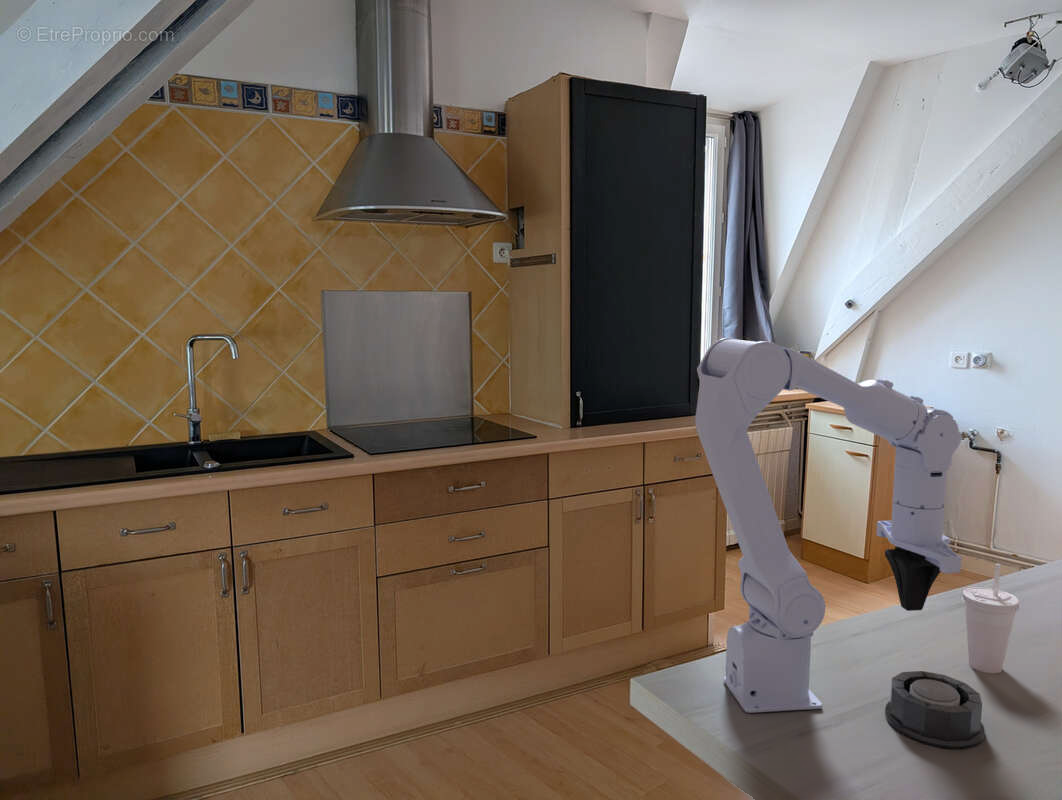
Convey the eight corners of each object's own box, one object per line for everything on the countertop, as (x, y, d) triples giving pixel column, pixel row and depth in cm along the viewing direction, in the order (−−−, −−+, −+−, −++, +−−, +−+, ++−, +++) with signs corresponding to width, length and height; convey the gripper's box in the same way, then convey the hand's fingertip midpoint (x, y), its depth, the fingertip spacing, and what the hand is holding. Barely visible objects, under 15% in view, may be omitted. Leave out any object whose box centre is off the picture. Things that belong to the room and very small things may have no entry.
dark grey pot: (917, 752, 81) (920, 717, 80) (868, 702, 91) (869, 671, 90) (1005, 746, 82) (1008, 711, 81) (946, 698, 92) (949, 667, 91)
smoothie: (1022, 680, 96) (1031, 574, 94) (967, 675, 97) (975, 571, 95) (1002, 657, 102) (1010, 557, 100) (950, 653, 103) (957, 554, 101)
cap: (926, 732, 84) (928, 702, 83) (899, 708, 88) (901, 679, 88) (968, 728, 84) (970, 699, 84) (939, 705, 89) (941, 677, 89)
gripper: (989, 518, 87) (980, 631, 88) (914, 487, 101) (908, 585, 103) (930, 521, 86) (923, 634, 88) (863, 489, 100) (858, 587, 102)
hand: (911, 608), depth 95 cm, fingers closed
